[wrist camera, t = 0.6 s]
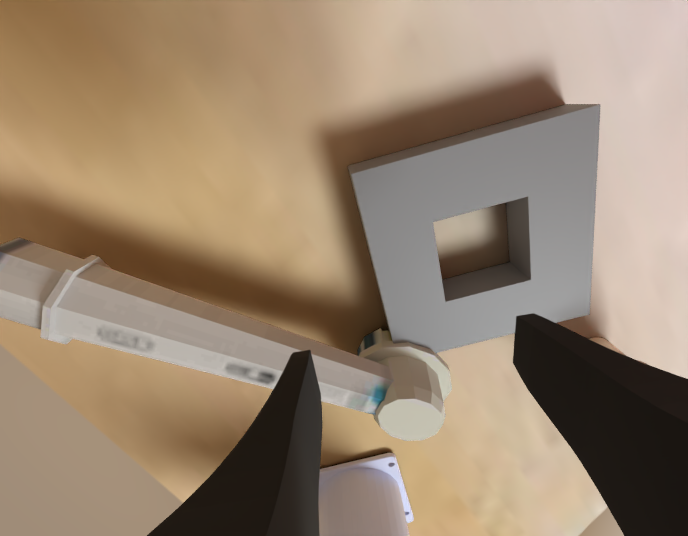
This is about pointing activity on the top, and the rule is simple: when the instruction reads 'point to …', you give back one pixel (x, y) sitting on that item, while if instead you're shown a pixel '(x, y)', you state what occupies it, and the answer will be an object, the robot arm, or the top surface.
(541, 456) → the top surface
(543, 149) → the board
